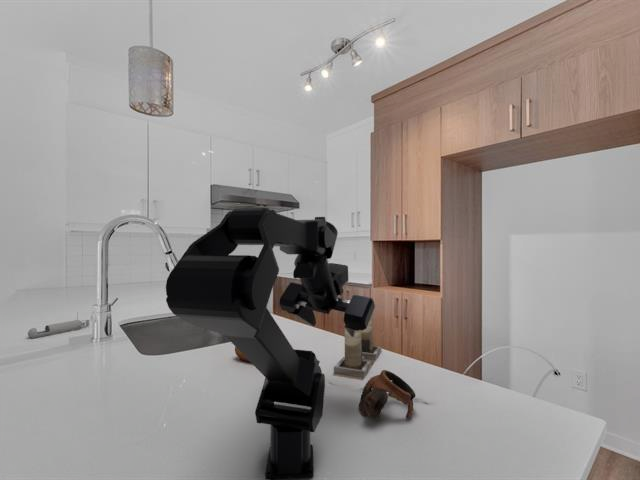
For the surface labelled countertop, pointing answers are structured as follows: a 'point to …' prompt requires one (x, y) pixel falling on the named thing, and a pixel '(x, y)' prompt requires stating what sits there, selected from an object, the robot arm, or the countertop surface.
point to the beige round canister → (353, 350)
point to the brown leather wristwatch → (385, 394)
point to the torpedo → (58, 328)
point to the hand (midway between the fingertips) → (333, 329)
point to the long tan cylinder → (367, 337)
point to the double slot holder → (366, 365)
